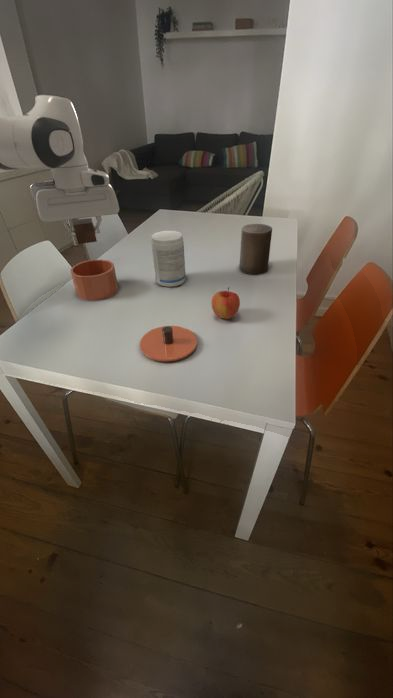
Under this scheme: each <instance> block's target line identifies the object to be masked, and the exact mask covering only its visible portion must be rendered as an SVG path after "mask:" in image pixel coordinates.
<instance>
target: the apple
mask: <svg viewBox="0 0 393 698" xmlns="http://www.w3.org/2000/svg"><path fill="white" fill-rule="evenodd" d="M240 300H241V299H240V297H239V295H238V294H237V293H236V292H233V291H230V287H229V286H228V287H227V290H221V291H217V292H215V293H214V294H213V296H212V298H211V301H210V303H211V304H210V305H211V309H212V311H213V313H214V315H215V316H216V317H217V318H219V319H225V320H229V319H232V318H233V317H235V315H236V314H237V313H238V311H239V309H240V307H241V301H240Z"/></svg>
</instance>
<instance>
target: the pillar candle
mask: <svg viewBox="0 0 393 698" xmlns="http://www.w3.org/2000/svg"><path fill="white" fill-rule="evenodd" d="M272 235H273V227H272V226H270V225H268V224H265V223H250V224H245V225H243V226H242V227H241V235H240V237H241V238H240V252H239V270H240V272H242V273H245V274H248V275H262V274H265V273H267V272H268V270H269V262H270V255H271V254H270V252H271V243H272Z"/></svg>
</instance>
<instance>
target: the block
mask: <svg viewBox="0 0 393 698" xmlns="http://www.w3.org/2000/svg"><path fill="white" fill-rule="evenodd" d="M72 226H73V227H72V228H74V231H75V234H76V236H75V239H76V242H77V245H82V244H89V243H97V242H98V241H97V234H96V233H95V231H94V222H93V217H86V218H77V219H72Z"/></svg>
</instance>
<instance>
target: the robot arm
mask: <svg viewBox="0 0 393 698" xmlns="http://www.w3.org/2000/svg"><path fill="white" fill-rule="evenodd" d="M0 170H4V171H15V170H50V171H51V175H52V179H45V180H35V181H34V182H33V183H31V185H30V187H29V191H30V194H31V198H32V199H33V200H34V201H35V202H36V208H37V213H38V216H39V220H41V221H42V222H43V223H50V222H58V221H61V223H62V225H63V226H64V227H65V229H67V230H68V231H69V235H70V237H76V234H75V231H74V227H71V225H69V220H78V219H86V218H93V217H94V218H95V221H96V223H95V225H94V224H93V226H94V231H95V234H100V233H101V230H100V226H101V223H102V219H103V218H102V216H112V215H117V214H118V213H119V212H120V205H119V201H118V198H117V195H116V192H115V189H114V188H113V187H112V185H111V184H110V177H109V175H108V174H107V172H105V171H103V170H98V169H94V168H90V167H89V162H88V159H87V157H86V154H85V151H84V139H83V133H82V129H81V126H80V122H79V118H78V115H77V112H76V110H75V107H74V104H73V102H72V100H70V99H69V98H67V97H66V96H64V95H60V94H52V93H40V94H38V95H36V96H35V98H34V106H33V107H32V108H31V110H29V111H28V112H27V113H25V114H24V115H1V114H0Z"/></svg>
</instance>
